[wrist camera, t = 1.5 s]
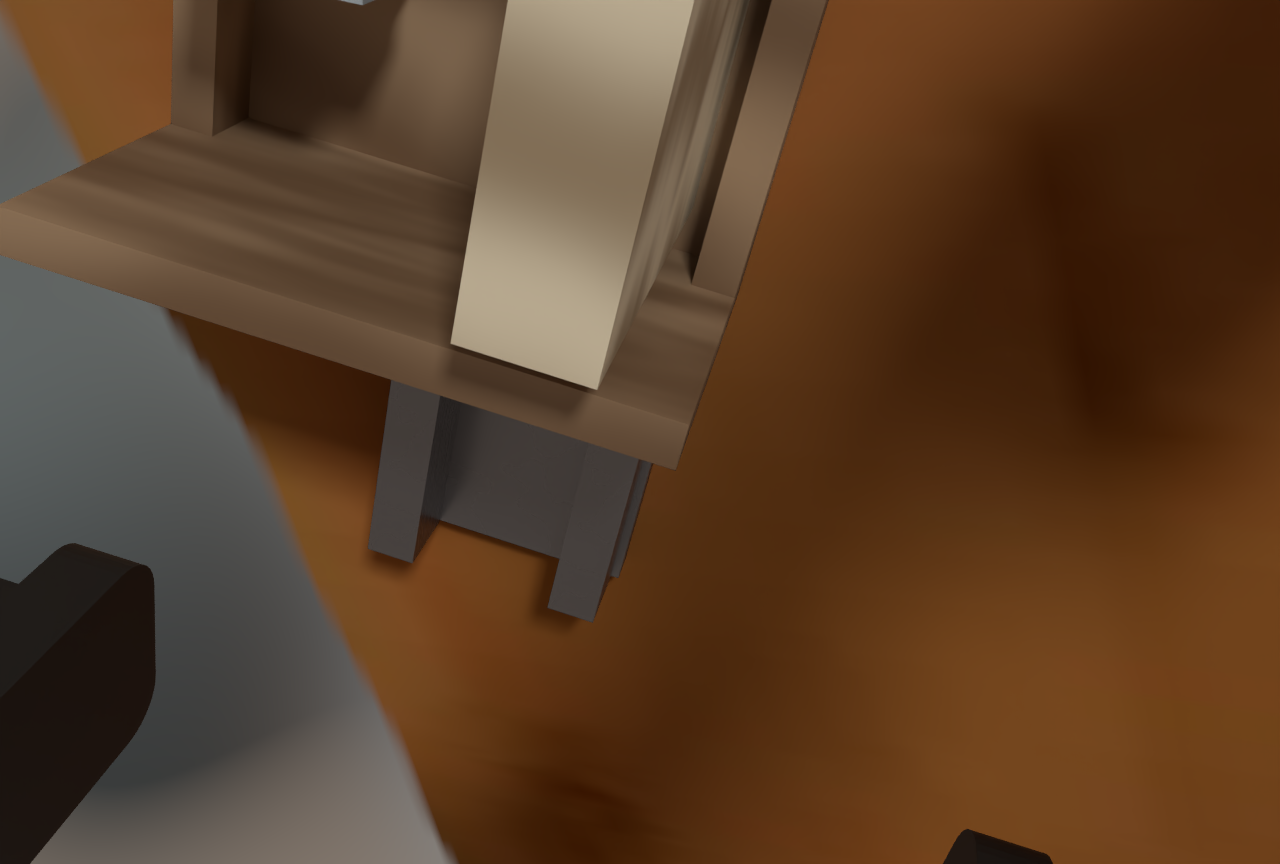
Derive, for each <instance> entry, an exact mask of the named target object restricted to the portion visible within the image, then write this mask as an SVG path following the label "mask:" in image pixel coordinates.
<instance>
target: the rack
mask: <svg viewBox="0 0 1280 864" xmlns="http://www.w3.org/2000/svg"><path fill="white" fill-rule="evenodd" d="M828 1H829V0H750V1H749V5H748V9H747V12H746V16H745V20H744V23H743V27H742V31H741V34H740V38H739V42H738V45H737V49H736V52H735V56H734V60H733V63H732V67H731V71H730V74H729V78H728V82H727V85H726V89H725V93H724V96H723V100H722V104H721V107H720V111H719V115H718V118H717V122H716V126H715V129H714V133H713V136H712V140H711V144H710V147H709V151H708V155H707V158H706V162H705V166H704V169H703V173H702V177H701V180H700V184H699V188H698V191H697V195H696V199H695V202H694V206H693V209H692V211H691V213H690V214H689V216H688V218H687V220H686V222H685V224H684V226H683V228H682V230H681V232H680V233H679V235H678V237H677V239H676V241H675V243H674V245H673V247H672V249H671V251H670V252H669V254H668V256H667V258H666V260H665V262H664V264H663V266H662V268H661V270H660V271H659V273H658V275H657V277H656V279H655V281H654V283H653V285H652V287H651V289H650V290H649V292H648V294H647V296H646V298H645V300H644V302H643V304H642V306H641V308H640V309H639V311H638V313H637V315H636V317H635V319H634V321H633V323H632V325H631V327H630V328H629V330H628V332H627V334H626V336H625V338H624V340H623V342H622V344H621V346H620V347H619V349H618V351H617V353H616V355H615V357H614V359H613V361H612V363H611V365H610V366H609V368H608V370H607V372H606V374H605V376H604V378H603V380H602V382H601V384H600V385H599V387H598V389H597V390H596V389H592V388H589V387H586V386H583V385H580V384H577V383H573V382H570V381H567V380H564V379H561V378H558V377H554V376H551V375H548V374H545V373H542V372H539V371H535V370H532V369H529V368H526V367H523V366H520V365H517V364H513V363H510V362H507V361H504V360H501V359H498V358H494V357H491V356H488V355H485V354H482V353H479V352H475V351H472V350H469V349H466V348H463V347H460V346H456V345H453V344H451V338H452V332H453V326H454V320H455V314H456V308H457V302H458V296H459V290H460V284H461V278H462V272H463V266H464V260H465V254H466V248H467V242H468V236H469V230H470V224H471V218H472V212H473V206H474V200H475V194H476V188H477V182H478V176H479V170H480V164H481V158H482V152H483V146H484V140H485V134H486V128H487V122H488V116H489V110H490V104H491V98H492V92H493V87H494V81H495V75H496V69H497V63H498V57H499V51H500V45H501V39H502V33H503V27H504V21H505V15H506V9H507V3H508V0H374V1H372V2H369V3H367V4H364V5H359V4H354V3H350V2H345V1H341V0H174V1H173V51H172V101H171V124H170V125H168V126H165V127H163V128H161V129H159V130H157V131H155V132H153V133H151V134H148V135H146V136H144V137H142V138H140V139H138V140H136V141H134V142H131V143H129V144H127V145H125V146H123V147H121V148H119V149H116V150H114V151H112V152H110V153H108V154H106V155H104V156H102V157H99V158H97V159H95V160H93V161H91V162H89V163H87V164H85V165H82V166H80V167H78V168H76V169H74V170H72V171H70V172H67V173H65V174H63V175H61V176H59V177H57V178H55V179H53V180H50V181H49V182H46V183H44V184H42V185H40V186H38V187H36V188H33V189H31V190H29V191H27V192H25V193H23V194H21V195H19V196H16V197H14V198H12V199H10V200H8V201H6V202H4V203H1V204H0V255H2V256H5V257H9V258H11V259H14V260H18V261H21V262H24V263H28V264H30V265H33V266H36V267H40V268H43V269H46V270H49V271H52V272H55V273H58V274H62V275H65V276H68V277H71V278H74V279H77V280H80V281H84V282H87V283H90V284H93V285H96V286H99V287H102V288H105V289H108V290H112V291H115V292H118V293H121V294H124V295H127V296H131V297H133V298H137V299H140V300H143V301H146V302H149V303H152V304H155V305H158V306H162V307H165V308H168V309H171V310H174V311H177V312H180V313H184V314H187V315H190V316H193V317H196V318H199V319H202V320H205V321H209V322H212V323H215V324H218V325H221V326H224V327H227V328H231V329H234V330H237V331H240V332H243V333H246V334H249V335H252V336H256V337H259V338H262V339H265V340H268V341H271V342H274V343H277V344H281V345H284V346H287V347H290V348H293V349H296V350H299V351H303V352H306V353H309V354H312V355H315V356H318V357H321V358H324V359H328V360H331V361H334V362H337V363H340V364H343V365H346V366H350V367H353V368H356V369H359V370H362V371H365V372H368V373H371V374H375V375H378V376H381V377H384V378H387V379H390V380H393V381H396V382H400V383H403V384H406V385H409V386H412V387H415V388H418V389H422V390H425V391H428V392H431V393H434V394H437V395H440V396H443V397H447V398H450V399H453V400H456V401H459V402H462V403H465V404H468V405H472V406H475V407H478V408H481V409H484V410H487V411H490V412H494V413H497V414H500V415H503V416H506V417H509V418H512V419H515V420H519V421H522V422H525V423H528V424H531V425H534V426H537V427H541V428H544V429H547V430H550V431H553V432H556V433H559V434H562V435H566V436H569V437H572V438H575V439H578V440H581V441H584V442H587V443H591V444H594V445H597V446H600V447H603V448H606V449H609V450H613V451H616V452H619V453H622V454H625V455H628V456H631V457H634V458H638V459H641V460H644V461H647V462H650V463H653V464H656V465H659V466H663V467H666V468H669V469H672V470H675V471H676V468H677V465H678V462H679V460H680V457H681V454H682V451H683V448H684V445H685V443H686V440H687V437H688V434H689V431H690V429H691V426H692V423H693V420H694V417H695V414H696V412H697V409H698V406H699V403H700V400H701V397H702V395H703V392H704V389H705V386H706V383H707V380H708V378H709V375H710V372H711V369H712V366H713V363H714V361H715V358H716V355H717V352H718V349H719V346H720V344H721V341H722V338H723V335H724V332H725V329H726V327H727V324H728V321H729V318H730V315H731V313H732V310H733V307H734V304H735V301H736V298H737V296H738V292H739V289H740V286H741V283H742V279H743V276H744V273H745V270H746V266H747V263H748V260H749V257H750V254H751V250H752V247H753V244H754V241H755V237H756V234H757V231H758V228H759V224H760V221H761V218H762V215H763V211H764V208H765V205H766V202H767V198H768V195H769V192H770V189H771V185H772V182H773V179H774V176H775V172H776V169H777V166H778V163H779V159H780V156H781V153H782V150H783V147H784V143H785V140H786V137H787V134H788V130H789V127H790V124H791V121H792V117H793V114H794V111H795V108H796V104H797V101H798V98H799V95H800V91H801V88H802V85H803V82H804V78H805V75H806V72H807V69H808V65H809V62H810V59H811V56H812V53H813V49H814V46H815V43H816V40H817V36H818V33H819V30H820V27H821V23H822V20H823V17H824V14H825V10H826V7H827V4H828Z"/></svg>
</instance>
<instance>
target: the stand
mask: <svg viewBox="0 0 1280 864" xmlns="http://www.w3.org/2000/svg"><path fill="white" fill-rule="evenodd" d="M652 465H653V463H650V462H647V461H644V460H641V459H638V458H634V457H631V456H628V455H625V454H622V453H619V452H616V451H613V450H609V449H606V448H603V447H600V446H597V445H594V444H591V443H587V442H584V441H581V440H578V439H575V438H572V437H569V436H566V435H562V434H559V433H556V432H553V431H550V430H547V429H544V428H541V427H537V426H534V425H531V424H528V423H525V422H522V421H519V420H515V419H512V418H509V417H506V416H503V415H500V414H497V413H494V412H490V411H487V410H484V409H481V408H478V407H475V406H472V405H468V404H465V403H462V402H459V401H456V400H453V399H450V398H447V397H443V396H440V395H437V394H434V393H431V392H428V391H425V390H422V389H418V388H415V387H412V386H409V385H406V384H403V383H400V382H396V381H393V380H391V386H390V393H389V400H388V407H387V415H386V422H385V429H384V436H383V443H382V451H381V458H380V465H379V472H378V479H377V486H376V494H375V501H374V508H373V515H372V522H371V530H370V537H369V544H368V549H370V550H373V551H377V552H380V553H383V554H386V555H389V556H392V557H395V558H398V559H401V560H404V561H407V562H410V563H413V562H414V560H415V558H416V557H417V555H418V554H419V552H420V551H421V549H422V548H423V546H424V545H425V543H426V541H427V540H428V538H429V537H430V535H431V534H432V532H433V531H434V529H435V527H436V526H437V524H438V523H439V521H440V520H442V521H445V522H448V523H451V524H454V525H457V526H460V527H463V528H466V529H469V530H473V531H476V532H479V533H482V534H485V535H488V536H491V537H494V538H497V539H500V540H503V541H506V542H509V543H512V544H515V545H519V546H522V547H525V548H528V549H531V550H534V551H537V552H540V553H543V554H546V555H549V556H552V557H555V558H558V559H560V560H559V564H558V568H557V572H556V575H555V579H554V583H553V587H552V591H551V595H550V599H549V603H548V607H547V608H550V609H553V610H556V611H559V612H562V613H565V614H568V615H571V616H574V617H577V618H580V619H583V620H586V621H589V622H592V623H593V621H594V618H595V616H596V613H597V611H598V608H599V605H600V603H601V600H602V598H603V595H604V592H605V590H606V587H607V585H608V582H609V580H610V577H611V576H614V577H617V578H618V577H619V575H620V572H621V569H622V567H623V564H624V561H625V558H626V555H627V551H628V548H629V544H630V541H631V537H632V534H633V531H634V527H635V524H636V520H637V517H638V513H639V510H640V506H641V503H642V500H643V496H644V493H645V489H646V486H647V482H648V479H649V475H650V472H651V469H652Z"/></svg>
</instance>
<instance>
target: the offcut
mask: <svg viewBox="0 0 1280 864" xmlns="http://www.w3.org/2000/svg"><path fill="white" fill-rule="evenodd" d="M341 1H345V2H350V3H354V4H359V5H364V4H367V3H369V2H372V1H374V0H341Z"/></svg>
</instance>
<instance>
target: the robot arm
mask: <svg viewBox="0 0 1280 864" xmlns="http://www.w3.org/2000/svg"><path fill="white" fill-rule="evenodd" d="M155 674H156V669H155V604H154V578H153V574H152V572H151V570H150V568H148V567H147V566H145V565H142V564H139V563H136V562H133V561H130V560H126V559H123V558H120V557H117V556H113V555H110V554H107V553H104V552H101V551H97V550H95V549H92V548H88V547H85V546H82V545H79V544H76V543H72V544H67V545H64V546H62V547H61V548H59V549H58V550H56V551H55V552H54V553H53V554H51V555H50V556H49V557H48V558H47V559H46V560H45V561H44V562H43V563H42V564H40V565H39V566H38V567H37V568H36V569H35V570H34V571H33V572H31V574H29V575H28V576H27V577H26V578H25V579H24V580H23V581H21V582H20V583H19V584H17V583H14V582H11V581H7V580H4V579H1V578H0V864H30V863H31V862H32V861H33V859H34V858H35V857H36V856H37V854H38V853H39V852H40V850H42V848H43V847H44V846H45V845H46V843H47V842H48V841H49V840H50V839H51V837H52V836H53V835H54V833H56V831H57V830H58V829H59V828H60V826H61V825H62V824H63V823H64V822H65V820H66V819H67V818H68V817H69V815H70V814H71V813H72V812H73V810H74V809H75V808H76V807H77V806H78V804H79V803H80V802H81V801H82V800H83V798H84V797H85V796H86V795H87V793H88V792H89V791H90V790H91V788H92V787H93V786H94V785H95V784H96V782H97V781H98V780H99V779H100V777H101V776H102V775H103V774H104V773H105V771H106V770H107V769H108V768H109V766H110V765H111V764H112V763H113V762H114V760H115V759H116V758H117V757H118V755H119V754H120V753H121V752H122V750H123V749H124V748H125V747H126V746H127V744H128V743H129V742H130V740H131V739H132V738H133V736H134V735H135V733H136V732H137V730H138V728H139V727H140V725H141V723H142V721H143V719H144V717H145V715H146V712H147V710H148V707H149V705H150V702H151V699H152V695H153V691H154V686H155ZM943 864H1053V863H1052V861H1051V859H1050V857H1049V856H1048V855H1047V854H1045V853H1042V852H1038V851H1035V850H1032V849H1029V848H1026V847H1023V846H1019V845H1016V844H1013V843H1010V842H1007V841H1004V840H1001V839H997V838H994V837H991V836H988V835H985V834H982V833H978V832H975V831H972V830H969V829H966V830H964V831H963V832H961V834H960V835H959V836H958V837H957V839H956V841H955V842H954V844H953V846H952V848H951V850H950V852H949V854H948V855H947V857H946V859H945V861H944V863H943Z"/></svg>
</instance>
